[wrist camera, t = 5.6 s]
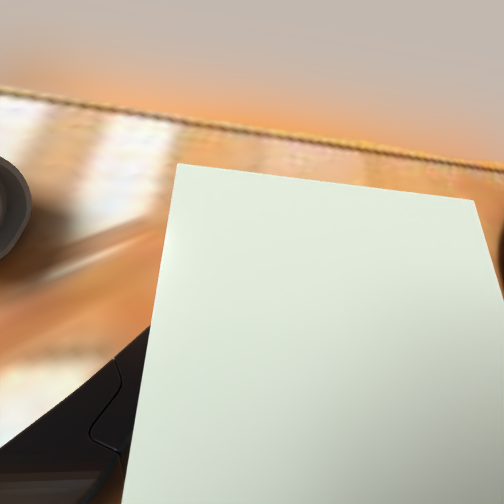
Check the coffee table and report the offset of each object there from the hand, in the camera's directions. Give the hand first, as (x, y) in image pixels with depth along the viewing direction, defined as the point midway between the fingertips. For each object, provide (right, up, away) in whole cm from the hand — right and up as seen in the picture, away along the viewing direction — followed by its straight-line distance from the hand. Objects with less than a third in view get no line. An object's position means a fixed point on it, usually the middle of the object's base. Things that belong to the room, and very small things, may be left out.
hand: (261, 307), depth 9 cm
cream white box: (-1, -4, +6) cm, 7 cm away
